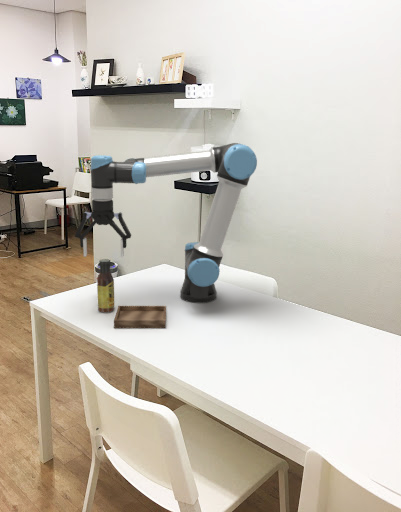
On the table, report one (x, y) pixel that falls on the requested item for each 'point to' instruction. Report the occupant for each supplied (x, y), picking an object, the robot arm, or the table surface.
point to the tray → (140, 317)
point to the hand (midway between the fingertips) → (103, 256)
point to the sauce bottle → (105, 287)
